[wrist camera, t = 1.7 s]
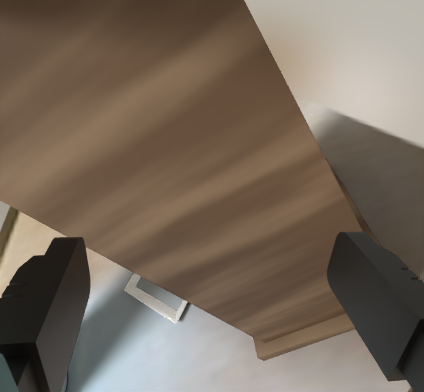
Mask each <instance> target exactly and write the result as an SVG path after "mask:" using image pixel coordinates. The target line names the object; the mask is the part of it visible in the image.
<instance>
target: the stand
mask: <svg viewBox="0 0 424 392" xmlns="http://www.w3.org/2000/svg"><path fill="white" fill-rule="evenodd" d="M0 201H2V202H4V203H6V204H8V205H10V206H11V207H13V208H15V209H17V210H19V211H21V212H22V213H24V214H26V215H28V216H30V217H32V218H34V219H35V220H37V221H39V222H41V223H43V224H45V225H47V226H48V227H50V228H52V229H54V230H56V231H58V232H60V233H61V234H63V235H65V236H67V237H83V239H84V242H85V247H87V248H89V249H91V250H93V251H95V252H97V253H98V254H100V255H102V256H104V257H106V258H108V259H110V260H111V261H113V262H115V263H117V264H119V265H121V266H122V267H124V268H126V269H128V270H130V271H132V272H134V273H135V274H137V275H139V276H141V277H143V278H145V279H147V280H148V281H150V282H152V283H154V284H156V285H158V286H160V287H161V288H163V289H165V290H167V291H169V292H171V293H172V294H174V295H176V296H178V297H180V298H182V299H184V300H185V301H187V302H189V303H191V304H193V305H195V306H197V307H198V308H200V309H202V310H204V311H206V312H208V313H210V314H211V315H213V316H215V317H217V318H219V319H221V320H222V321H224V322H226V323H228V324H230V325H232V326H234V327H235V328H237V329H239V330H241V331H243V332H245V333H247V334H248V335H250V336H252V337H253V339H254V343H255V348H256V352H257V357H258V358H259V359H261V360H263V361H264V360H267V359H270V358H273V357H276V356H279V355H281V354H284V353H287V352H290V351H293V350H296V349H299V348H301V347H304V346H307V345H310V344H313V343H316V342H319V341H321V340H324V339H327V338H330V337H333V336H336V335H339V334H342V333H344V332H347V331H350V330H353V329H356V328H355V327H354V325H353V324H352V322H351V320H350V319H349V317H348V316H347V314H346V312H345V311H344V309H343V308H342V306H341V304H340V303H339V301H338V299H337V298H336V296H335V295H334V293H333V291H332V290H331V288H330V286H329V284H328V280H327V268H328V264H329V261H330V257H331V254H332V250H333V247H334V243H335V240H336V237H337V235H338V234H339V233H340V232H356V231H364V232H366V233H367V234H368V235H369V236H370V237H371V238H372V239H373V240H374V241H375V242H376V243H377V244H378V245H379V243H378V241H377V240H376V238H375V237H374V235H373V233H372V232H371V230H370V229H369V227H368V225H367V224H366V222H365V220H364V219H363V217H362V216H361V214H360V212H359V211H358V209H357V208H356V206H355V204H354V203H353V201H352V200H351V198H350V196H349V195H348V193H347V192H346V190H345V188H344V187H343V185H342V183H341V182H340V180H339V179H338V177H337V175H336V174H335V172H334V171H333V169H332V167H331V166H330V164H329V163H328V161H327V159H326V158H325V157H324V155H323V153H322V151H321V149H320V147H319V145H318V143H317V141H316V140H315V138H314V136H313V134H312V132H311V130H310V128H309V126H308V124H307V122H306V120H305V118H304V116H303V114H302V112H301V110H300V108H299V106H298V104H297V103H296V101H295V99H294V97H293V95H292V93H291V91H290V89H289V87H288V85H287V83H286V81H285V79H284V77H283V75H282V73H281V71H280V70H279V68H278V66H277V64H276V62H275V60H274V58H273V56H272V54H271V52H270V50H269V48H268V46H267V44H266V43H265V40H264V38H263V36H262V34H261V32H260V31H259V29H258V27H257V25H256V23H255V21H254V19H253V17H252V15H251V13H250V11H249V9H248V7H247V5H246V3H245V1H244V0H0ZM379 246H380V245H379Z"/></svg>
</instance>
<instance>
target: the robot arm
mask: <svg viewBox="0 0 424 392" xmlns="http://www.w3.org/2000/svg"><path fill="white" fill-rule="evenodd" d="M327 280H328V284H329V286H330V288H331V290H332V291H333V293H334V295H335V296H336V298H337V299H338V301H339V303H340V304H341V306H342V308H343V309H344V311H345V312H346V314H347V316H348V317H349V319H350V320H351V322H352V324H353V325H354V327H355V328H356V330H357V332H358V333H359V335H360V336H361V338H362V340H363V341H364V343H365V345H366V346H367V348H368V349H369V351H370V353H371V354H372V356H373V357H374V359H375V361H376V362H377V364H378V365H379V367H380V369H381V370H382V372H383V374H384V375H385V377H386V378H387V380H388V381H398V380H407V381H408V383H409V384H410V386H411V387H410V389H409V391H408V392H424V283H423V282H422V281H421V280H418V277H417V276H416V275H415V274H414V273H413V272H412V271H411V270H409V269H408V267H407V266H406V265H405V264H404V263H403V262H402V261H401V260H400V259H399V258H398V257H397V256H396V255H394V254H393V253H391V252H389V251H388V250H386V249H385V248H383V247H381V246H379V245H378V244H377V243H376V242H375V241H374V240H373V239H372V238H371V237H370V236H369V235H368V234H367V233H366V232H364V231H356V232H340V233H339V234H338V235H337V237H336V240H335V243H334V247H333V250H332V254H331V257H330V261H329V264H328V268H327ZM89 294H90V273H89V266H88V260H87V254H86V247H85V242H84V239H83V237H59V238H54V239H53V240H52V242H51V244H50V246H49V248H48V249H47V251H46V253H45V255H38V256H33V257H32V258H30V259H29V260H28V261H27V262H26V263H24V264H23V265H22V266H21V267H19V268H18V270H17V271H16V273H15V275H14V276H13V278H12V280H11V281H10V285H9V286H7V288H6V289H5V291H4V292H3V294H2V298H0V392H65V390H66V385H67V371H68V367H69V364H70V360H71V357H72V354H73V350H74V347H75V343H76V340H77V336H78V333H79V330H80V326H81V323H82V319H83V316H84V313H85V309H86V306H87V302H88V299H89Z"/></svg>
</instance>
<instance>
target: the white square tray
mask: <svg viewBox="0 0 424 392" xmlns="http://www.w3.org/2000/svg"><path fill="white" fill-rule="evenodd" d="M140 278H141V276H139V275H137V274H135V273H133V275H132V277H131V278H130V280H129V282H128V284H127V285H126V287H125V289H124V291H125V292H127V293H128V294H130V295H131V296H133V297H134V298H136V299H137V300H139V301H140V302H142V303H144V304H145V305H147V306H148V307H150V308H151V309H153V310H154V311H156V312H157V313H159V314H161V315H162V316H164V317H165V318H167V319H168V320H170V321H171V322H173V323H174V324H177V322H178V320H179V318H180V316H181V314H182V312H183V310H184V308H185V306H186V305H187V303H188V302H187V301H185V300H183V302H182V304H181V306H180V307H179V309H178V311H176V310H174V309H173V308H171V307H169V306H167V305H166V304H164V303H162V302H161V301H159V300H157V299H156V298H154V297H152V296H151V295H149V294H147V293H146V292H144V291H142V290H141V289H139V288H137V287H136V285H137V283H138V281H139V280H140Z"/></svg>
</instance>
